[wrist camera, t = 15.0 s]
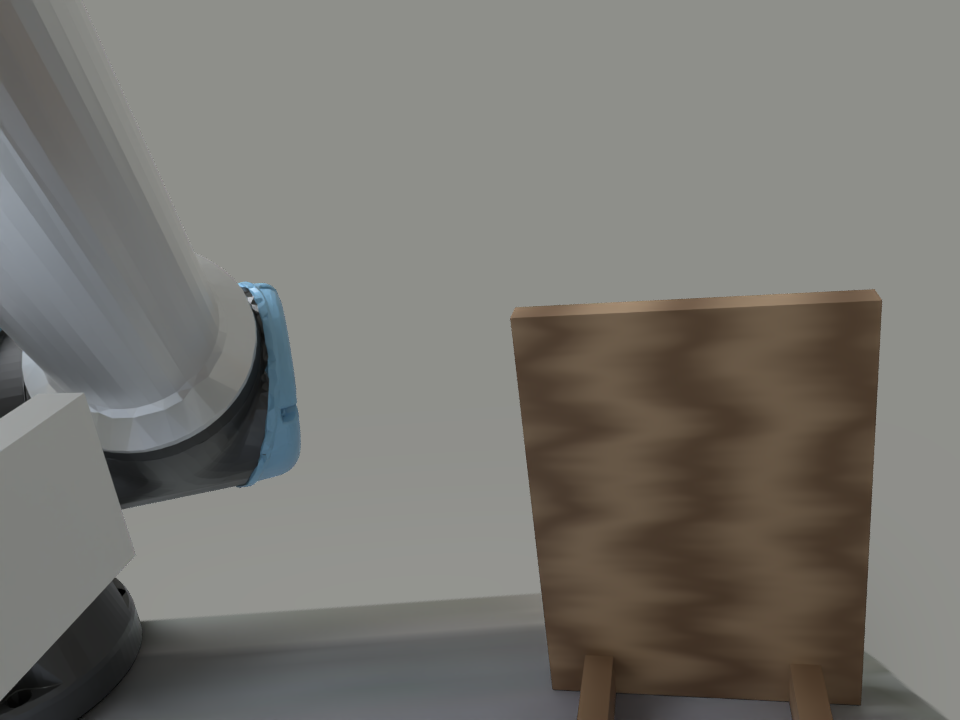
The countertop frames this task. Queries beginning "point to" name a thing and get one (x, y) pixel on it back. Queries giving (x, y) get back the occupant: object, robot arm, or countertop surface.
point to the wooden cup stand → (703, 494)
